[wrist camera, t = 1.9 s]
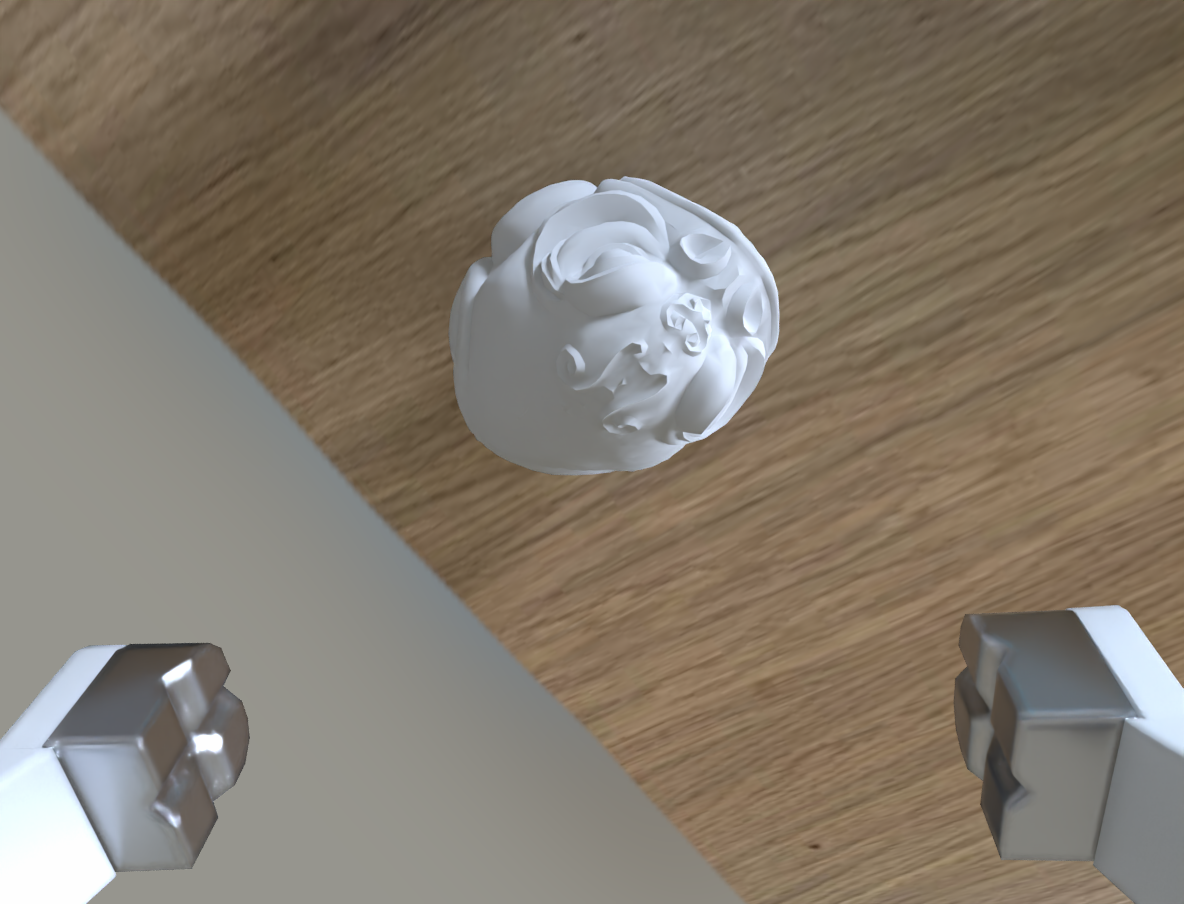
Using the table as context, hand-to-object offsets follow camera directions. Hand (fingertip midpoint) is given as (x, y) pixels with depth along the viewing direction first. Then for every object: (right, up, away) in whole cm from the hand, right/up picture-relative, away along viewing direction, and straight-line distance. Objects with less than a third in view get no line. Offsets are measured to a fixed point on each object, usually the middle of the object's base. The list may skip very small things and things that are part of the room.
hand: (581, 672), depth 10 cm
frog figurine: (+1, +7, +12) cm, 14 cm away
